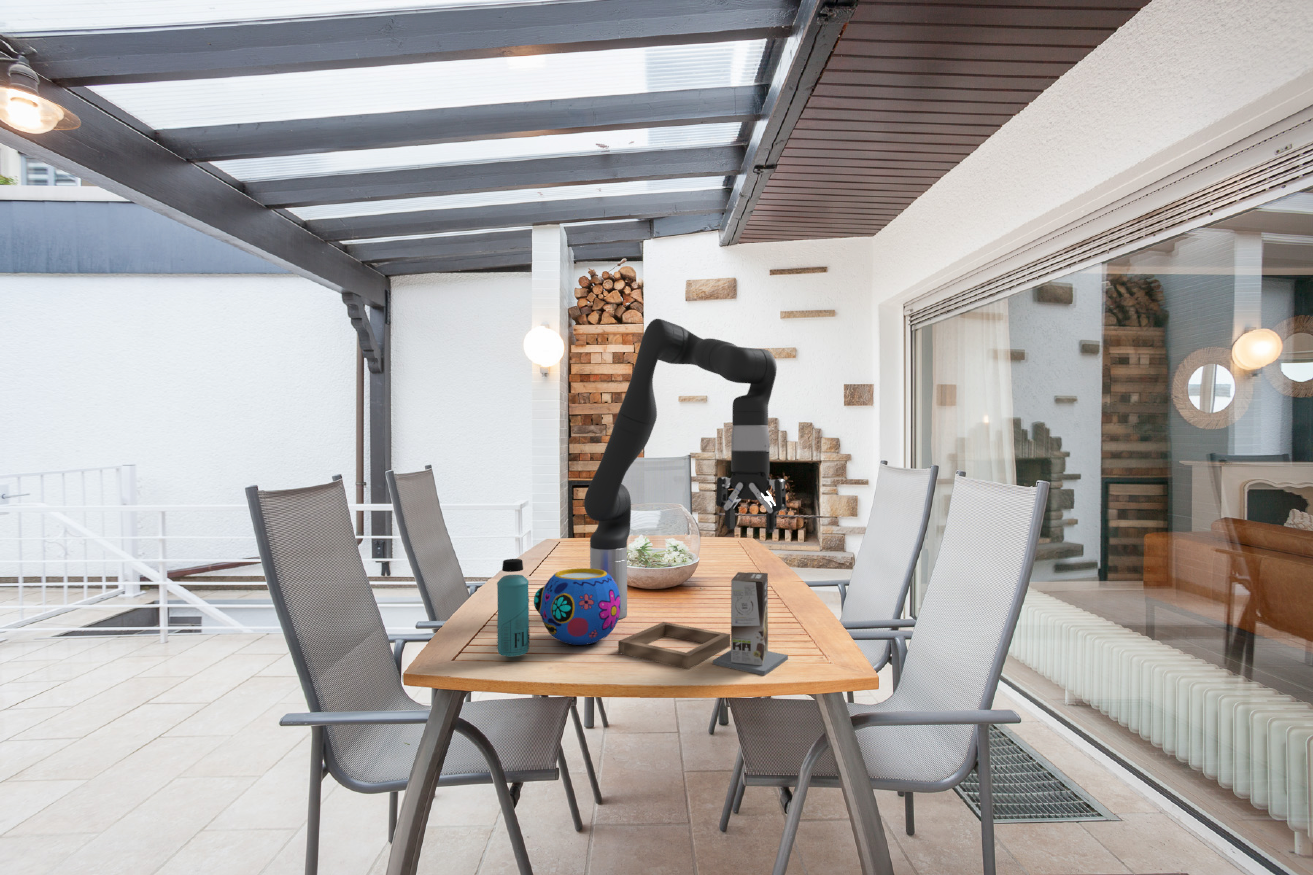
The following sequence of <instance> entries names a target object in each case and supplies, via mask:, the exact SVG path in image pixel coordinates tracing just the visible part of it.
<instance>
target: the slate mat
mask: <svg viewBox="0 0 1313 875" xmlns="http://www.w3.org/2000/svg"><path fill="white" fill-rule="evenodd" d="M788 659H789V655H788V654H786V653H785V654H784V653H780V652H774V651H769V650H768V653H767V655H766V658H765V660H764V663H763V665H761V666H759V665H751V664H741V663H732V662H731V649H730V650H728V651H726V652H724V653H723V654H721V655H719V656H718V657H716V658H714V659H713V660H712V665H715V666H720V667H723V668H729V669H733V670H738V671H739V670H740V671H741V672H742V671H743V672H748V673H752V674H756V675H761V676H766V675H768V674H769V673H771V672H772V671H773V670H774V669H776V668H778V666H780V665H781V664H783V663H784V662H786V661H787V660H788Z"/></svg>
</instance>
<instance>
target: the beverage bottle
mask: <svg viewBox="0 0 1313 875" xmlns="http://www.w3.org/2000/svg"><path fill="white" fill-rule="evenodd" d="M523 562H524V561H523V559H520V558H509V559H508V558H507V559H504V560H503V561H502V567H501V569H502V570H501V571H503V572H506V573H507V572H508V573H515V572H521V571H523V570H524V564H523ZM529 583H530V582H529V580H528V579H527V577H526V576H524V575H522V574H508V575H507V574H506V575H503V576H502V577H501V578H500V579H499V580H498V581H497V583H496V585H497V586H496V588H497V590H496V591H497V618H496V619H497V621H496V625H497V626H496V629H497V634H496V637H497V641H496V644H497V654H498V655H499V656H503V657H517V656H518V657H519V656H522V655H526V654H527V653H528V652H529V650H530V636H531V634H530V632H531V631H530V630H531V628H530V626H529V625H530V618H529V617H530V616H529V613H530V611H529V610H530V605H529V604H530V598H529V597H530V595H529Z"/></svg>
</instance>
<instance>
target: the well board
mask: <svg viewBox="0 0 1313 875" xmlns="http://www.w3.org/2000/svg"><path fill="white" fill-rule="evenodd" d="M666 636H667V637H672V638H676V639H681V640H687V641H691V642H695V643H699V644H700V643H701V644H700V645H698V646H696V647H694V648H692V649H690V650H689V651H687V652H685V651H680V650H676V649H670V648H666V647H661V646H657V645H654V644H653V645H652V644H651V643H652V642H655V641H658V640H660V639H661V638H663V637H666ZM617 645H618V648H617V653H618V654H620V653H622V654H621V655H624V654H625V656H629V657H633V656H635V658H637V657H638V658H639V659H642V658H643V660H645V661H652V662H656V663H660V664H664V665H668V666H673V667H678V668H682V669H686V670H691V669H692V668H693V667H696V666H697V665H699V664H701V663H702V662H704V661H705V660H708V659H710V658H711V657H714V656H715V655H717V654H718V653H720V652H722V651H723V650H725V649H728V648H730V647H731V633H726V632H720V631H716V630H715V631H714V630H710V629H704V628H699V627H693V626H689V625H683V624H677V623H671V622H667V621H662V622H660V623H658V624H656V625H654V626H653V625H652V626H651V627H649V628H646V629H644V630H641V631H639V632H636V633H634V634H632V635H629V636H626V637H625V638H622V639H620V640H618V642H617Z"/></svg>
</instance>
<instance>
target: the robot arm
mask: <svg viewBox="0 0 1313 875" xmlns="http://www.w3.org/2000/svg"><path fill="white" fill-rule="evenodd" d="M636 356H637V357H636V359H635V362H634V367H633V370H632V373H631V377H630V381H629V383H628V387H627V389H626V392H625V395H624V398H623V400H622V403H621V405H620V407H619V410H618V413H617V415H616V418H615V421H614V424H613V427H612V431H611V434H610V436H609V439H608V441H607V444H606V446H605V450H604V452H603V455H602V457H601V460H600V462H599V465H598V467H597V469H596V471H595V473H594V475H593V478H592V480H591V481H590V483H589V485H588V488H587V490H586V492H585V495H584V501H583V505H584V511H585V513H586V515H587V517H588V518H589V519H591V520H592V521H595V522H598V525H597V528H596V529H595V531H594V532H593V533H592V534H591V536H590V538H589V569H599V570H603V571H605V572H607V573H608V574H609V575H610V576H611V577H612V578H613V579H614V581H615V583H616V584H617V587H618V590H619V594H620V599H621V607H620V614H619V619H624V618H625V617H627V616H628V540H629V539H628V538H629V536H630V532H631V518H632V517H631V514H632V502H631V500H632V499H631V496H630V491H629V490H628V488H627V487H626V486H625V485H624V484H623V480H624V477H625V475H626V474H627V471H628V470H629V468H630V467H631V466H632V464H634V462H635V460H636V459H637V458H638V457H639V455H640V454H641V453H642V451H643V450H644V449H645V447H646V445H647V444H648V441H649V440H650V437H651V435H652V432H653V430H654V427H655V424H656V421H657V416H658V410H657V404H656V398H655V392H654V385H653V384H654V383H653V381H654V374H655V369H656V366H657V363H658V361H661V362H663V363H664V362H665V363H667V364H671V365H693V366H697V367H699V368H700V369H702V370H704V371H707V372H710V373H713V374H715V375H719V376H721V377H722V378H723V379H725V380H727V381H729V382H731V383H737V384H749V387H748V391H747V394H744V395H740V396H737V397H735V398H734V400H733V401H732V427H731V429H732V430H731V439H730V442H731V444H730V447H731V448H730V450H731V451H730V453H731V455H730V459H731V460H730V462H731V463H730V464H731V465H730V467H731V468H730V470H731V477H730V478H729V477H728V476H720V477H717V479H716V493H715V494H716V495H715V496H716V497H715V498H716V499H715V504H716V507H720V508H722V509H723V510H724V525H725V526H726V528H727V530H734V529H735V528H736V510H735V507H736V506H737V505H738V503H739V502H741V500H744V501H745V500H750V501H759V503H760V504H761V505H763V507H764V509H765V510H766V512H767V513H766V514H765V529H766V530H765V531H766V533H771V534H772V533H774V531H775V530H776V529H777V524H778V522H777V520H778V517H777V516H778V515H777V514H778V512H781V511H783V510H786V509H787V491H786V480H785V479H784V478H777V479H771V477H770V447H771V443H770V430H769V404H770V400H771V396H772V392H773V388H774V384H775V381H776V377H777V370H778V369H777V368H778V367H777V361H776V358H775V356H774V355H773V353H772V352H771V351H769V350H768V349H764V348H753V347H744V346H743V347H741V346H738V345H736V344H734V343H731V342H728V341H725V340H720V339H718V338H717V339H716V338H702V337H699V336H697V335H695V334H694V333H693V332H690V331H689V330H688V329H686V328H684V327H683V326H681V325H678V324H675V323H672V322H670V321H667V320H665V319H661V318H655V319H653V320H651V321H650V322H649V324H648V325H647V326H646V328H645V330H644V332H643V335H642V338H641V342H640V345H639V348H638V352H637V355H636ZM730 486H731V487H732V489H733V491H732V492H731V494H730V495H729V496H728V490H729V489H728V488H729V487H730ZM770 488H772V490H773V491H774V498H775V499H773V497H772V495H771V494H770V493H769V491H768V490H769V489H770ZM619 619H618V620H619Z"/></svg>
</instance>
